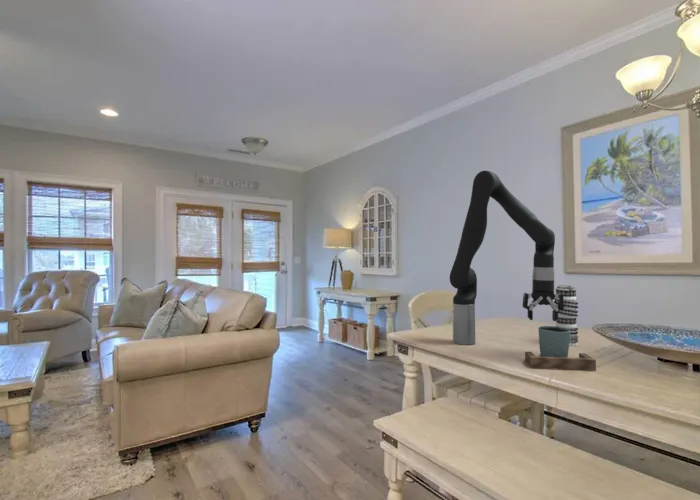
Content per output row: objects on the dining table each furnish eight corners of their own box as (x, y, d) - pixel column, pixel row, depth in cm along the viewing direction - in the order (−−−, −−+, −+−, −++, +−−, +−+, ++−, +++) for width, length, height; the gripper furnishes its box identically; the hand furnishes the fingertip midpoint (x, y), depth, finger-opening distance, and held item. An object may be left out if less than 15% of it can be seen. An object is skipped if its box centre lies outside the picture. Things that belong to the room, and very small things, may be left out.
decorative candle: (550, 340, 164) (549, 284, 165) (571, 340, 164) (570, 284, 164) (561, 346, 155) (560, 286, 156) (583, 346, 155) (582, 286, 155)
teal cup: (537, 356, 140) (537, 325, 140) (568, 359, 136) (567, 326, 136) (540, 364, 131) (539, 330, 131) (573, 367, 127) (572, 332, 127)
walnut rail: (531, 367, 127) (531, 357, 127) (525, 361, 135) (524, 351, 135) (596, 370, 123) (595, 359, 123) (585, 363, 131) (585, 353, 131)
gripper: (526, 279, 142) (525, 321, 142) (566, 280, 139) (566, 323, 139) (521, 277, 149) (520, 317, 149) (559, 278, 147) (558, 319, 147)
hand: (542, 320), depth 144 cm, fingers open, 8 cm apart
